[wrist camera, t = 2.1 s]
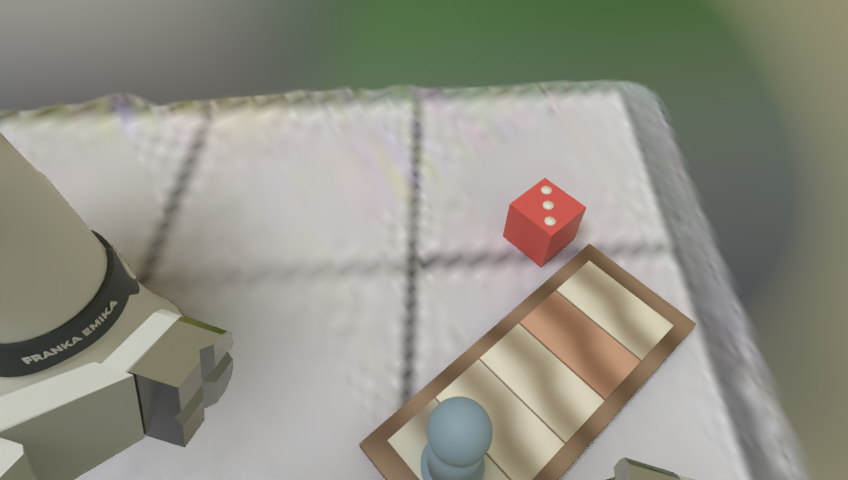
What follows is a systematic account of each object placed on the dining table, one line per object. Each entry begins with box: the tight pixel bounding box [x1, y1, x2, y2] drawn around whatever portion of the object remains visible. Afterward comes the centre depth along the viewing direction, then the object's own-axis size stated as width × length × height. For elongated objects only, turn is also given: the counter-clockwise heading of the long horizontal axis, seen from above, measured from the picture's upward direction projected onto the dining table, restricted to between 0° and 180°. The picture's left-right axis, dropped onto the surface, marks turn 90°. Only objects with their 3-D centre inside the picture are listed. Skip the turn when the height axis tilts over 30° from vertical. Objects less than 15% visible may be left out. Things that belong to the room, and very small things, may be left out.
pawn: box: [421, 396, 493, 480], centre depth 41 cm, size 6×6×13 cm
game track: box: [359, 244, 696, 480], centre depth 52 cm, size 34×14×1 cm, turn 132°
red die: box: [503, 178, 586, 267], centre depth 61 cm, size 6×6×6 cm
